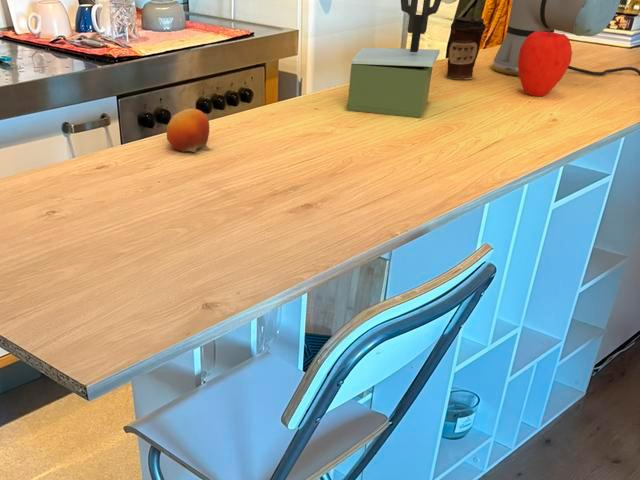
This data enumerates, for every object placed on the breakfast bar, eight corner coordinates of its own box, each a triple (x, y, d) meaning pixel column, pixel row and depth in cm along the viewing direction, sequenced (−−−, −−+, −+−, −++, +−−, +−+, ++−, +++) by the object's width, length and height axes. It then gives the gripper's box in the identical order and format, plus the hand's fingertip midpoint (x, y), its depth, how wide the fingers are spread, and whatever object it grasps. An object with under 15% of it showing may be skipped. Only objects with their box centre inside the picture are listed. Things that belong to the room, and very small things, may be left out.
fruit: (202, 151, 147) (182, 106, 144) (172, 167, 152) (153, 124, 149) (226, 141, 152) (208, 97, 149) (197, 157, 157) (179, 115, 155)
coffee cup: (476, 82, 201) (487, 22, 192) (442, 80, 202) (451, 20, 194) (476, 75, 207) (486, 16, 199) (443, 72, 208) (452, 14, 200)
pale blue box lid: (439, 53, 178) (439, 49, 178) (432, 66, 168) (433, 62, 167) (362, 51, 182) (362, 47, 181) (351, 63, 172) (351, 59, 171)
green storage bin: (427, 102, 185) (434, 57, 179) (420, 117, 174) (427, 71, 169) (358, 95, 188) (362, 51, 182) (347, 110, 177) (351, 64, 172)
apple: (564, 92, 196) (580, 28, 188) (559, 102, 188) (575, 36, 179) (514, 86, 199) (528, 23, 191) (507, 96, 191) (520, 31, 182)
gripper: (396, -87, 156) (381, 51, 172) (464, -83, 154) (443, 57, 169) (401, -89, 162) (386, 45, 177) (467, -86, 159) (446, 50, 175)
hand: (414, 50), depth 173 cm, fingers closed
